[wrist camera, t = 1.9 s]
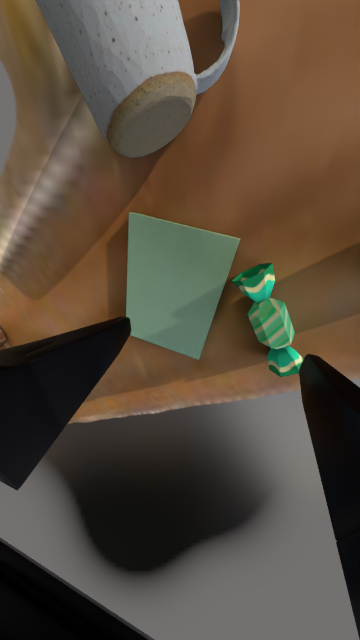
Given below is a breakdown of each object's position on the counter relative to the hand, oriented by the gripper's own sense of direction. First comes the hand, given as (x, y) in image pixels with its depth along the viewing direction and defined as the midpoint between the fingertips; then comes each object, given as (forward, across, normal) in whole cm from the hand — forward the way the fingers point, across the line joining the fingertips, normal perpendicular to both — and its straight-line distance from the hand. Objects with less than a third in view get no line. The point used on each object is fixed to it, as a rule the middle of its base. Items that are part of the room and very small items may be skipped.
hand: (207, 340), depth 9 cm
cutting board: (+13, +6, +3) cm, 15 cm away
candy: (+13, -5, +4) cm, 15 cm away
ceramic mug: (+13, +7, -15) cm, 21 cm away
